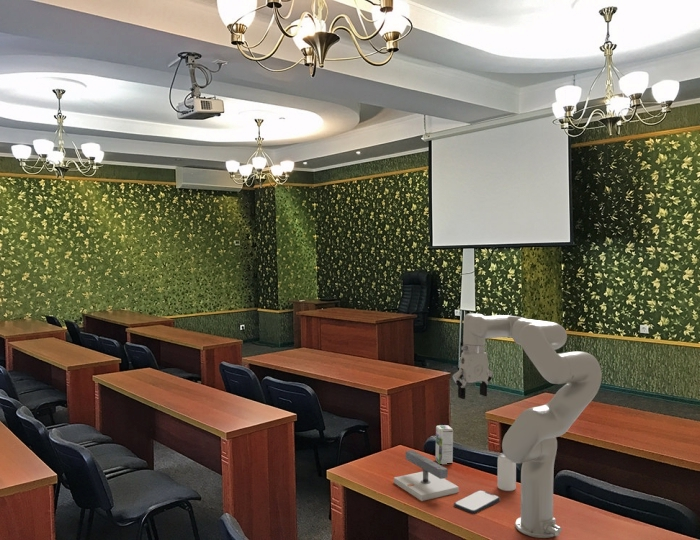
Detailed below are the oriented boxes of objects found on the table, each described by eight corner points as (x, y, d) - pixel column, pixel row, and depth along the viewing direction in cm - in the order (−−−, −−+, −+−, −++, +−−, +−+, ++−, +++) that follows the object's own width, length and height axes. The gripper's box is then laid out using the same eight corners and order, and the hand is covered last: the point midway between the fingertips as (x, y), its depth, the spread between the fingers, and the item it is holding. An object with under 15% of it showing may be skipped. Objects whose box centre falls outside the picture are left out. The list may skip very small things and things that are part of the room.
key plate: (458, 492, 202) (458, 486, 202) (421, 501, 195) (421, 494, 195) (429, 475, 218) (429, 469, 218) (393, 482, 211) (393, 476, 211)
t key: (447, 491, 197) (447, 468, 197) (440, 493, 196) (440, 470, 196) (412, 470, 217) (412, 450, 217) (405, 472, 216) (405, 451, 215)
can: (513, 484, 209) (514, 452, 209) (517, 492, 203) (517, 458, 202) (496, 484, 210) (496, 452, 210) (498, 491, 203) (499, 458, 203)
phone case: (474, 516, 185) (501, 501, 195) (474, 511, 185) (501, 496, 195) (452, 507, 191) (480, 493, 202) (452, 503, 191) (479, 489, 202)
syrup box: (434, 460, 235) (435, 425, 235) (448, 459, 236) (448, 424, 236) (439, 464, 229) (439, 429, 229) (453, 464, 230) (453, 428, 230)
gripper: (461, 352, 192) (459, 402, 193) (500, 348, 200) (498, 396, 200) (447, 348, 198) (446, 396, 199) (485, 345, 206) (484, 391, 207)
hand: (472, 396), depth 200 cm, fingers open, 9 cm apart
